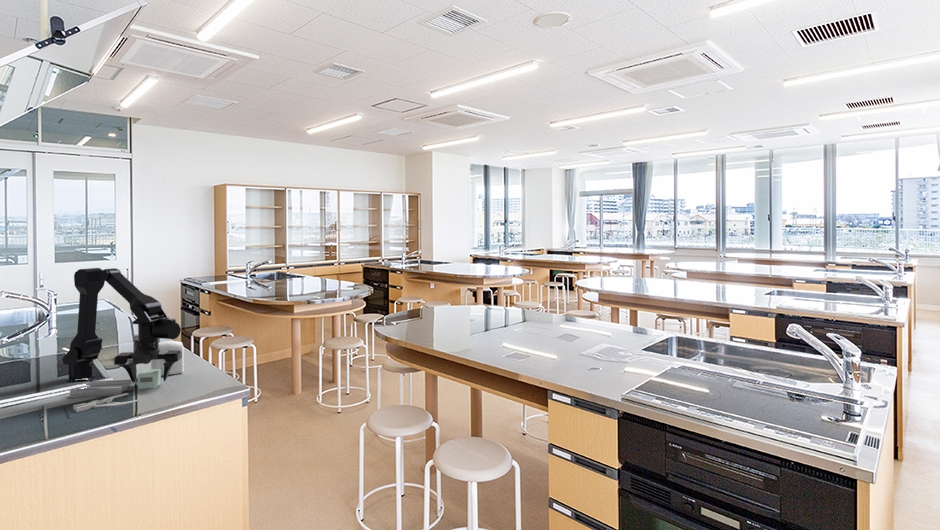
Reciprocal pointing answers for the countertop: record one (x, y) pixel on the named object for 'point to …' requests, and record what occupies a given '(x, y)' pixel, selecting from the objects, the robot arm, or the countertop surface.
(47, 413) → the countertop surface
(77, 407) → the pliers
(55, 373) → the countertop surface
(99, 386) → the mounting board
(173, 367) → the photo printer
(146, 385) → the green module
